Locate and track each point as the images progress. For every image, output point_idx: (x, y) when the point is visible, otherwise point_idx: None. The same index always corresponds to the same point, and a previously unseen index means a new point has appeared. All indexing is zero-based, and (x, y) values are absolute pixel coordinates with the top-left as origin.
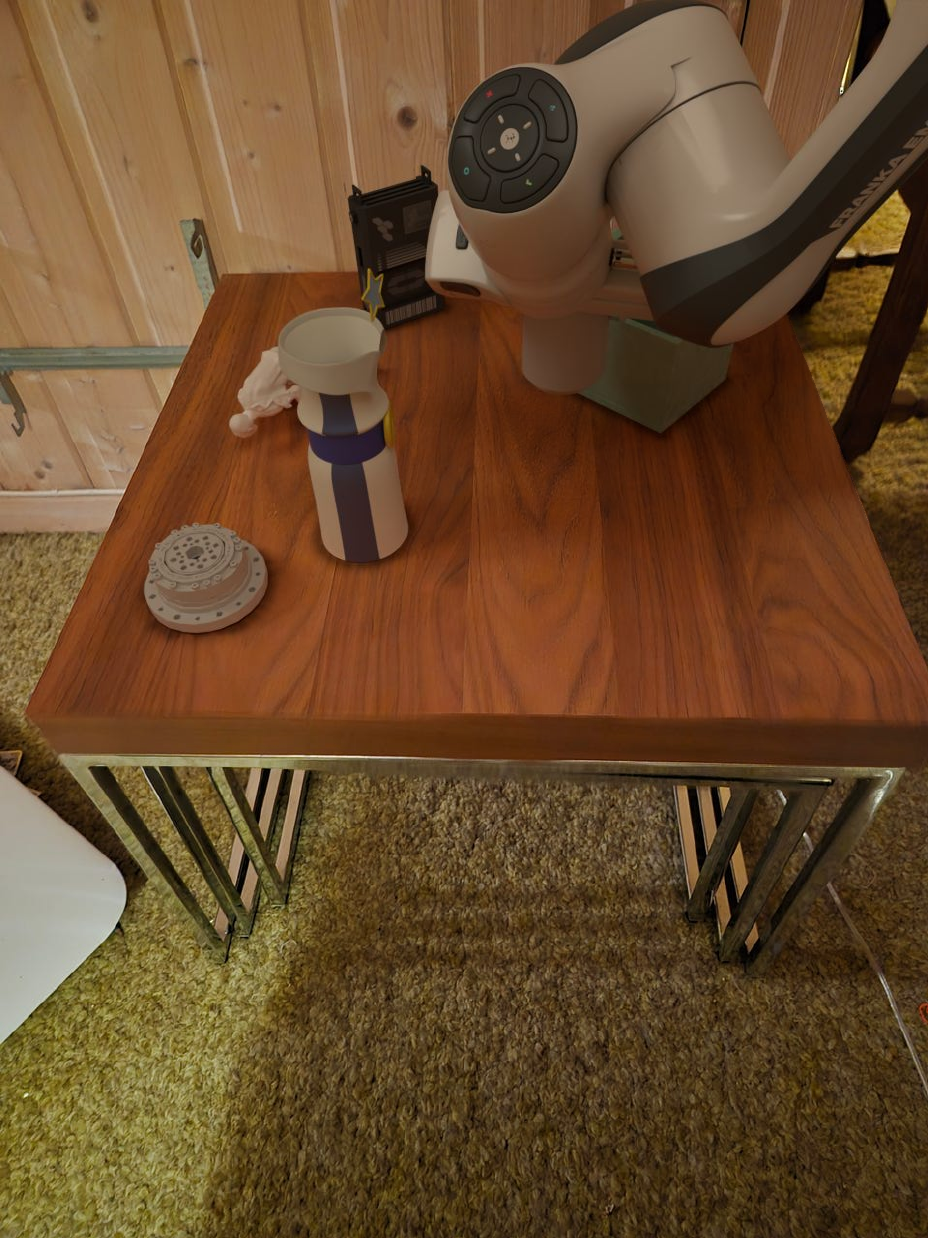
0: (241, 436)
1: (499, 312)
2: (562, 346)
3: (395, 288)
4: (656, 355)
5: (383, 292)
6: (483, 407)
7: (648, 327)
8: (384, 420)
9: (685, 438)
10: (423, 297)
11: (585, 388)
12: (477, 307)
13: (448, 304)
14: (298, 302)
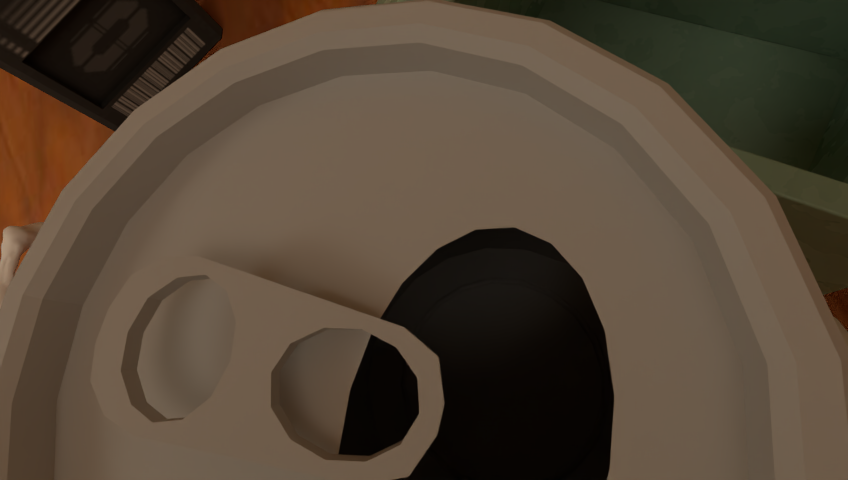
0: None
1: (318, 11)
2: None
3: (97, 59)
4: (812, 244)
5: (78, 79)
6: None
7: (782, 169)
8: None
9: (837, 316)
10: (166, 43)
11: (592, 448)
12: (277, 11)
13: (227, 21)
14: (3, 101)
